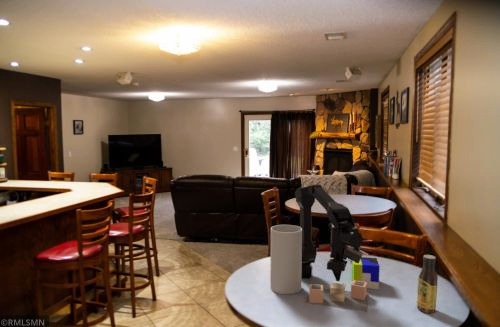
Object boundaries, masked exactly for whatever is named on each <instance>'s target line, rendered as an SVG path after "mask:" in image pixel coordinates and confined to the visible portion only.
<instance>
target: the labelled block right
mask: <svg viewBox="0 0 500 327" xmlns="http://www.w3.org/2000/svg"><path fill="white" fill-rule="evenodd" d="M350 291H351V297H352V298H357V299H362V300H365V298H366V296H367V294H368V288H367V282H361V281H356V280H354V281H353V282H352V283H351V285H350Z"/></svg>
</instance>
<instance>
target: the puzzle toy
mask: <svg viewBox="0 0 500 327" xmlns="http://www.w3.org/2000/svg"><path fill="white" fill-rule="evenodd" d="M380 268H381V267H380V264H379V261H378V258H376V257H367V256H366V257H365V256H362V257H361V259H360V262H359V263H355V262H354V261H351V280H352V281H351V282H352V283H353V281H354V280H356V281H361V282H367V289H372V290H374V289H375V290H379V289H380Z"/></svg>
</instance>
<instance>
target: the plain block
mask: <svg viewBox="0 0 500 327" xmlns="http://www.w3.org/2000/svg"><path fill="white" fill-rule="evenodd" d="M329 289H330V300H331V301H338V302H344V299H345V291H346V284H345V283H340V282H339V283H338V282H331V284H330V288H329Z"/></svg>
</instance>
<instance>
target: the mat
mask: <svg viewBox="0 0 500 327" xmlns="http://www.w3.org/2000/svg"><path fill="white" fill-rule="evenodd" d="M369 296H370V295H369V293H367V296H366V298H365V300H362V299H357V298H352V297H351V290H345V299H344V302H338V301H331V300H330V288H329V287H323V303H309V294H308V295H307V297H306V300H305V301H304V303H305V304H312V305H318V306H325V307H331V308H337V309H342V310H343V309H344V310H351V311H356V312H363V313H364V312H365V313H368V303H369Z"/></svg>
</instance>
